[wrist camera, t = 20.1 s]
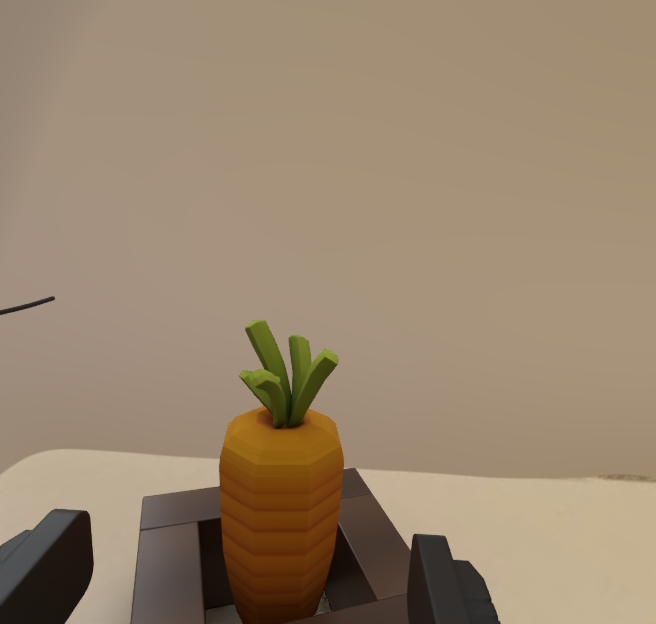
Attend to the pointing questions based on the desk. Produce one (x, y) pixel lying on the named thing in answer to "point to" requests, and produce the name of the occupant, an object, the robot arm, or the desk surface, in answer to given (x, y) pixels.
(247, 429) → the carrot
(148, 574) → the holder
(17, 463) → the desk surface
